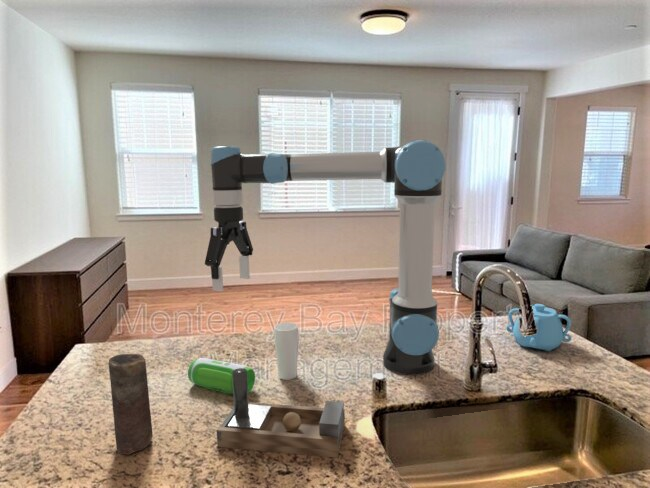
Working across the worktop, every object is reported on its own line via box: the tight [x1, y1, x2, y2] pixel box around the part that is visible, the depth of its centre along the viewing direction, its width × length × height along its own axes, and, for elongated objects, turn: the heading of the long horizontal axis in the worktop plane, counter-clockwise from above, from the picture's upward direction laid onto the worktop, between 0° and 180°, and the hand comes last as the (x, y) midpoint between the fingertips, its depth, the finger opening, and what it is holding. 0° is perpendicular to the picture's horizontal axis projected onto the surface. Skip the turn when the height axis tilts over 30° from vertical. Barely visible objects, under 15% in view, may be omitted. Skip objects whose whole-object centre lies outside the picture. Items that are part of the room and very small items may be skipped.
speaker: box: [187, 357, 256, 395], centre depth 123 cm, size 18×7×8 cm, turn 66°
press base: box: [216, 400, 346, 459], centre depth 101 cm, size 26×12×6 cm, turn 81°
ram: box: [228, 368, 271, 431], centre depth 101 cm, size 7×9×13 cm
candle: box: [108, 353, 154, 455], centre depth 97 cm, size 8×7×20 cm
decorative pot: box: [506, 303, 572, 352], centre depth 149 cm, size 16×16×14 cm
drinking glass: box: [273, 321, 300, 381], centre depth 128 cm, size 7×7×15 cm
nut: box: [283, 412, 301, 432], centre depth 101 cm, size 4×4×4 cm
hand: (232, 284), depth 124 cm, fingers open, 13 cm apart
